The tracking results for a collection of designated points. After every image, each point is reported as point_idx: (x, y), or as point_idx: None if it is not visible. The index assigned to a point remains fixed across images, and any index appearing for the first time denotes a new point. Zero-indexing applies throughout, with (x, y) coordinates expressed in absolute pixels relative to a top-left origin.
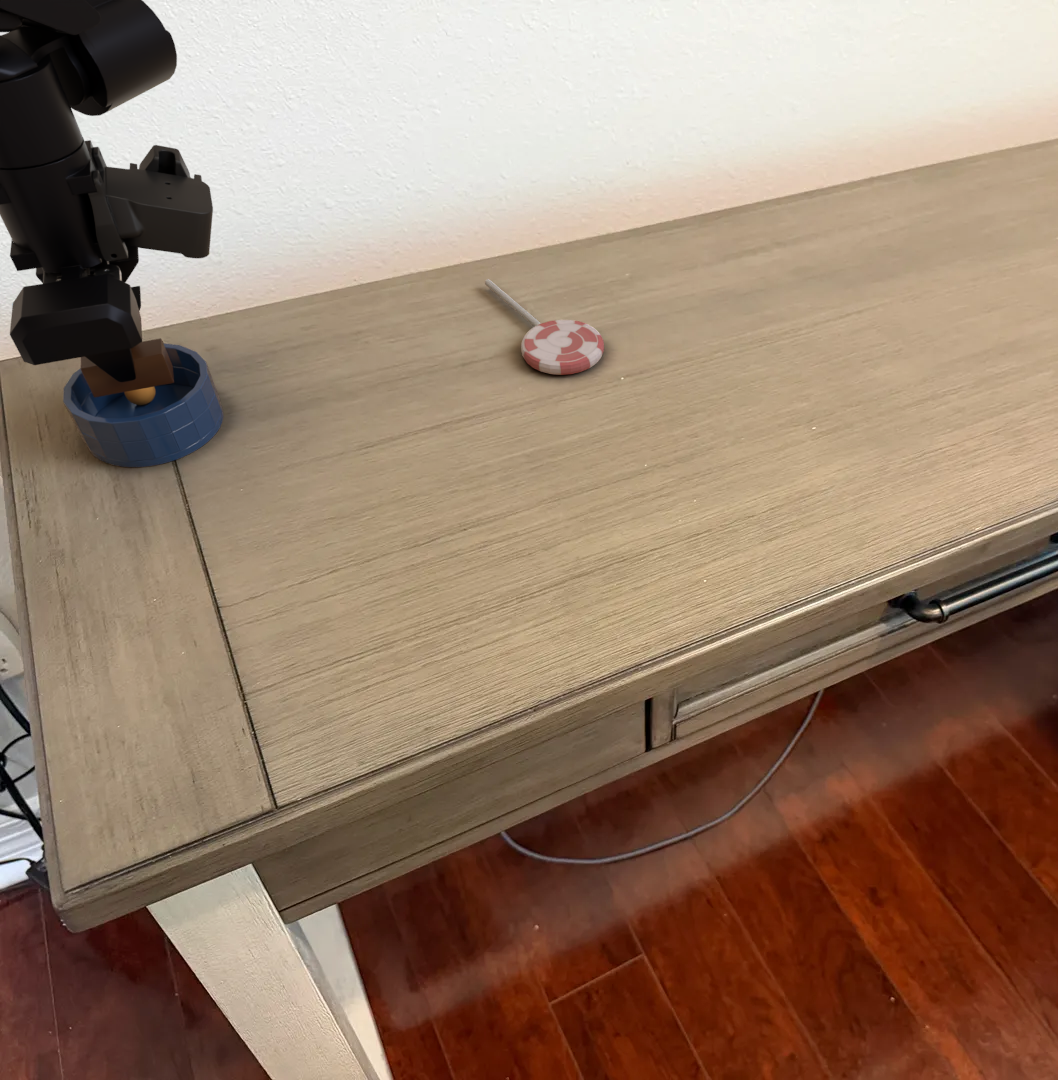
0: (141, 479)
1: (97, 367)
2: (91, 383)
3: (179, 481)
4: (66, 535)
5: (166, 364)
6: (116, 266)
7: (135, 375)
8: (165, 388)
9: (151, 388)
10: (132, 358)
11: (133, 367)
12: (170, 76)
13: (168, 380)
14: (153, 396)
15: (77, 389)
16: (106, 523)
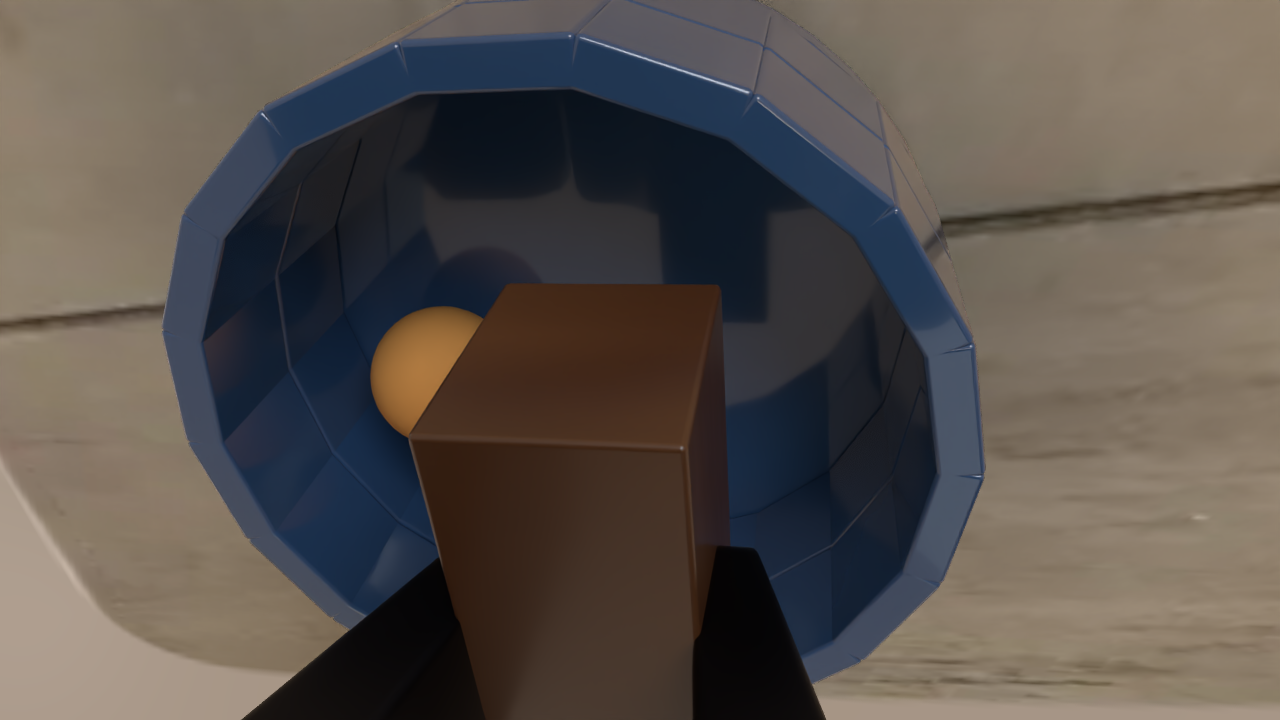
0: (1009, 364)
1: None
2: None
3: (1122, 211)
4: (1236, 606)
5: (701, 379)
6: None
7: (755, 562)
8: (370, 253)
9: (450, 335)
10: (749, 669)
11: (783, 626)
12: None
13: (720, 326)
14: (472, 316)
15: None
16: (1255, 494)
